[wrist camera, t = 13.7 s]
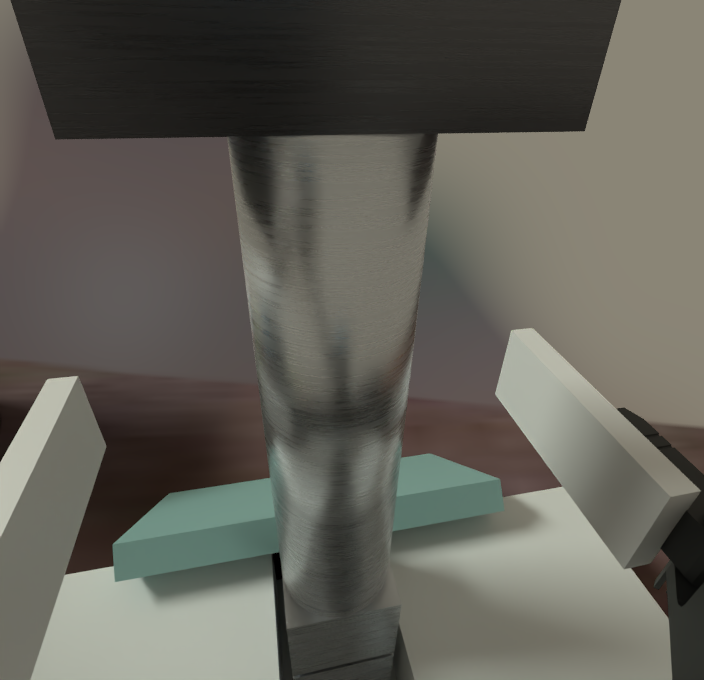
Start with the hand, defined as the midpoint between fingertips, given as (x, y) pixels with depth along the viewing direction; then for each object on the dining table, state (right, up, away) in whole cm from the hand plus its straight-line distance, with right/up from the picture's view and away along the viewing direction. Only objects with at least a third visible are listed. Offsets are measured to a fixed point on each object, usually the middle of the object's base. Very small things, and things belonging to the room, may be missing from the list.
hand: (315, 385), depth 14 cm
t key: (+1, -10, +3) cm, 10 cm away
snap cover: (-1, -6, +6) cm, 9 cm away
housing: (+3, -17, -6) cm, 18 cm away
